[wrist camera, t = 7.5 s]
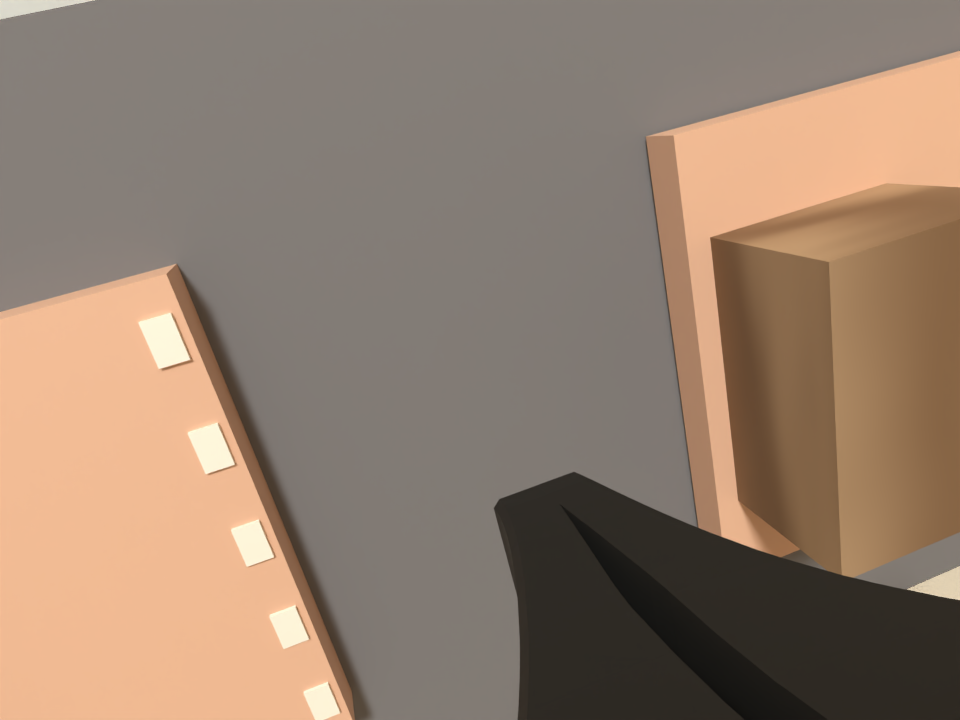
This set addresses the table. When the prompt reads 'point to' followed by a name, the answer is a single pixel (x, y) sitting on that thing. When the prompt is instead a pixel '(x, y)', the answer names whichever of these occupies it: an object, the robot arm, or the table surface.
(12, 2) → the table surface
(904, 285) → the peach square slab
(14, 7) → the table surface
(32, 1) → the table surface
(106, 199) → the mat
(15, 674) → the ticket
